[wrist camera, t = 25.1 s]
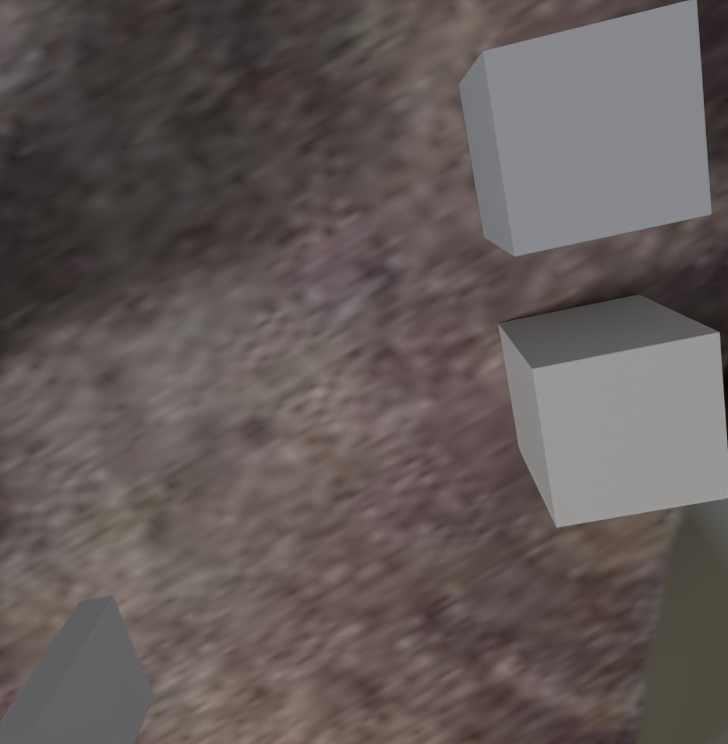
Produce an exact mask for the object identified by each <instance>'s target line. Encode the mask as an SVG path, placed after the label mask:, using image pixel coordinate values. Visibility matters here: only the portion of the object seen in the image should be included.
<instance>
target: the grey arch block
mask: <svg viewBox="0 0 728 744" xmlns="http://www.w3.org/2000/svg"><path fill="white" fill-rule="evenodd" d="M459 91H460V97H461V103H462V109H463V115H464V121H465V127H466V133H467V139H468V145H469V151H470V157H471V163H472V169H473V175H474V181H475V187H476V193H477V199H478V205H479V211H480V217H481V223H482V229H483V235H484V238H486V239H488V240H489V241H491V242H492V243H494V244H496V245H497V246H499V247H500V248H502V249H503V250H505V251H507V252H508V253H510V254H511V255H513V256H520V255H524V254H529V253H534V252H538V251H543V250H548V249H552V248H557V247H561V246H566V245H571V244H575V243H580V242H585V241H589V240H594V239H599V238H603V237H608V236H613V235H617V234H622V233H627V232H631V231H636V230H641V229H645V228H650V227H655V226H659V225H664V224H669V223H673V222H678V221H683V220H687V219H692V218H697V217H701V216H706V215H711V201H710V186H709V172H708V157H707V142H706V128H705V113H704V99H703V84H702V69H701V55H700V40H699V25H698V11H697V0H688V1H684V2H680V3H676V4H672V5H668V6H664V7H660V8H656V9H652V10H648V11H644V12H640V13H636V14H631V15H627V16H623V17H619V18H615V19H611V20H607V21H603V22H599V23H595V24H591V25H587V26H583V27H579V28H575V29H571V30H567V31H563V32H559V33H555V34H551V35H547V36H543V37H539V38H534V39H530V40H526V41H522V42H518V43H514V44H510V45H506V46H502V47H498V48H494V49H490V50H486V51H483V52H482V53H481V55H480V56H479V57H478V59H477V60H476V61H475V63H474V64H473V66H472V67H471V68H470V70H469V71H468V72H467V74H466V75H465V76H464V78H463V79H462V81H461V82H460V83H459Z"/></svg>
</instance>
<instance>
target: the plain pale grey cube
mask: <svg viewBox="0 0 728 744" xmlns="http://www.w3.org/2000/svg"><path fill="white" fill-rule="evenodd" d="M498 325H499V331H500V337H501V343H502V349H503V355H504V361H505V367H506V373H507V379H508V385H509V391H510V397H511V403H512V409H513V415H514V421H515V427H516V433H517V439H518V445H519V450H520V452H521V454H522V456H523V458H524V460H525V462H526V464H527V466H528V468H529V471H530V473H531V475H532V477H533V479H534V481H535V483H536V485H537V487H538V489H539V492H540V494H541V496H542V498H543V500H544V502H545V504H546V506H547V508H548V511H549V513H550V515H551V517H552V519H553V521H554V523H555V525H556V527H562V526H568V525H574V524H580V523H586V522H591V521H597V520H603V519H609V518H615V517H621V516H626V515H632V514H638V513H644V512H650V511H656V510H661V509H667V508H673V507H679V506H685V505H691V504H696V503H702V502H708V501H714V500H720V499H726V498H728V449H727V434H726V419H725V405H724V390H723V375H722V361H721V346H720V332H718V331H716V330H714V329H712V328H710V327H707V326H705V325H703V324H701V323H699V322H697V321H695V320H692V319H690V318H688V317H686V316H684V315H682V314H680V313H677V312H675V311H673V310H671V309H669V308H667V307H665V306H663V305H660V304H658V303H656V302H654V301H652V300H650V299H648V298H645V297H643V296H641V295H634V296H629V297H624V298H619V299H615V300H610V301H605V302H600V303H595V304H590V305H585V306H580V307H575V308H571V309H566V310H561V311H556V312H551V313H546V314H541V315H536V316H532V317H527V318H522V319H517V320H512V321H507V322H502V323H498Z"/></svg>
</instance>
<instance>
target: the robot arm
mask: <svg viewBox="0 0 728 744" xmlns="http://www.w3.org/2000/svg"><path fill="white" fill-rule="evenodd" d="M152 698H153V693H152V690H151V688H150V685H149V683H148V680H147V678H146V675H145V673H144V671H143V668H142V666H141V663H140V661H139V658H138V656H137V653H136V651H135V648H134V646H133V643H132V641H131V639H130V636H129V634H128V631H127V629H126V626H125V624H124V621H123V619H122V616H121V614H120V612H119V609H118V607H117V604H116V602H115V599H114V597H113V596H108V597H103V598H97V599H92V600H87V601H82V602H79V604H78V605H77V607H76V608H75V610H74V611H73V613H72V614H71V616H70V617H69V619H68V620H67V622H66V623H65V625H64V626H63V628H62V629H61V631H60V632H59V634H58V635H57V637H56V638H55V640H54V641H53V643H52V644H51V646H50V647H49V649H48V650H47V652H46V653H45V655H44V656H43V658H42V659H41V661H40V662H39V664H38V665H37V667H36V668H35V670H34V671H33V673H32V674H31V676H30V677H29V679H28V680H27V682H26V684H25V685H24V687H23V688H22V690H21V691H20V693H19V694H18V696H17V697H16V699H15V700H14V702H13V703H12V705H11V706H10V708H9V709H8V711H7V712H6V714H5V715H4V717H3V718H2V720H1V721H0V744H134V742H135V740H136V737H137V735H138V732H139V730H140V727H141V725H142V723H143V720H144V718H145V715H146V713H147V710H148V708H149V705H150V703H151V700H152Z"/></svg>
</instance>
